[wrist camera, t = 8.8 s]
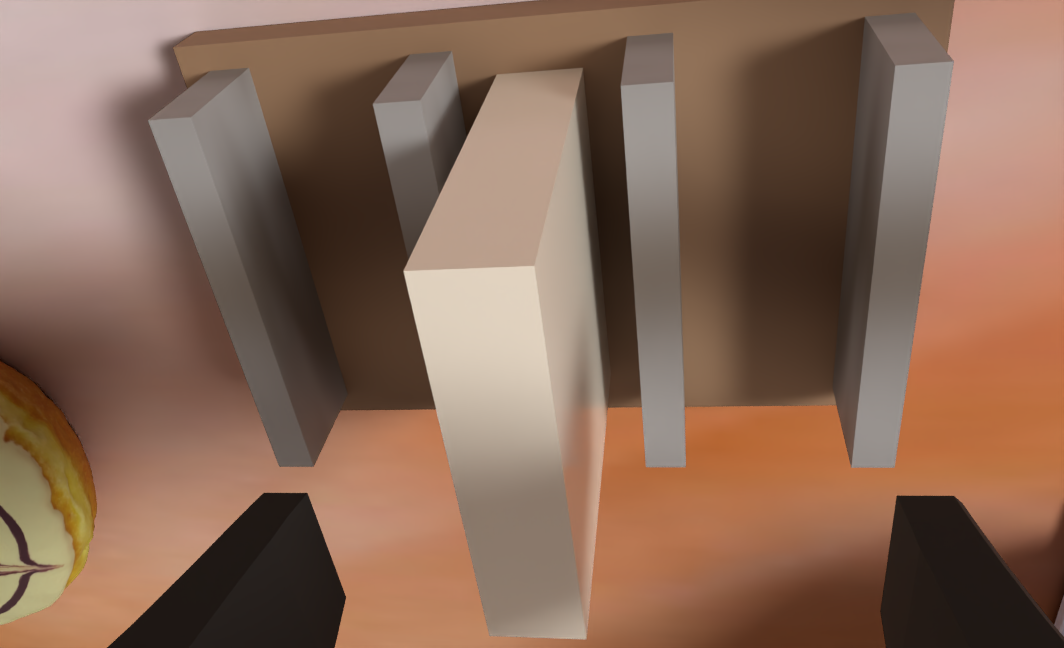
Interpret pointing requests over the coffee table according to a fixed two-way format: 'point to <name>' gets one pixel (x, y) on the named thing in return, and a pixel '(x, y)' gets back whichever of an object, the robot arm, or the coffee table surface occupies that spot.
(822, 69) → the dish rack
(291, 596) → the robot arm
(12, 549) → the decorated donut
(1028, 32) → the coffee table surface
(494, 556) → the upright cream panel
